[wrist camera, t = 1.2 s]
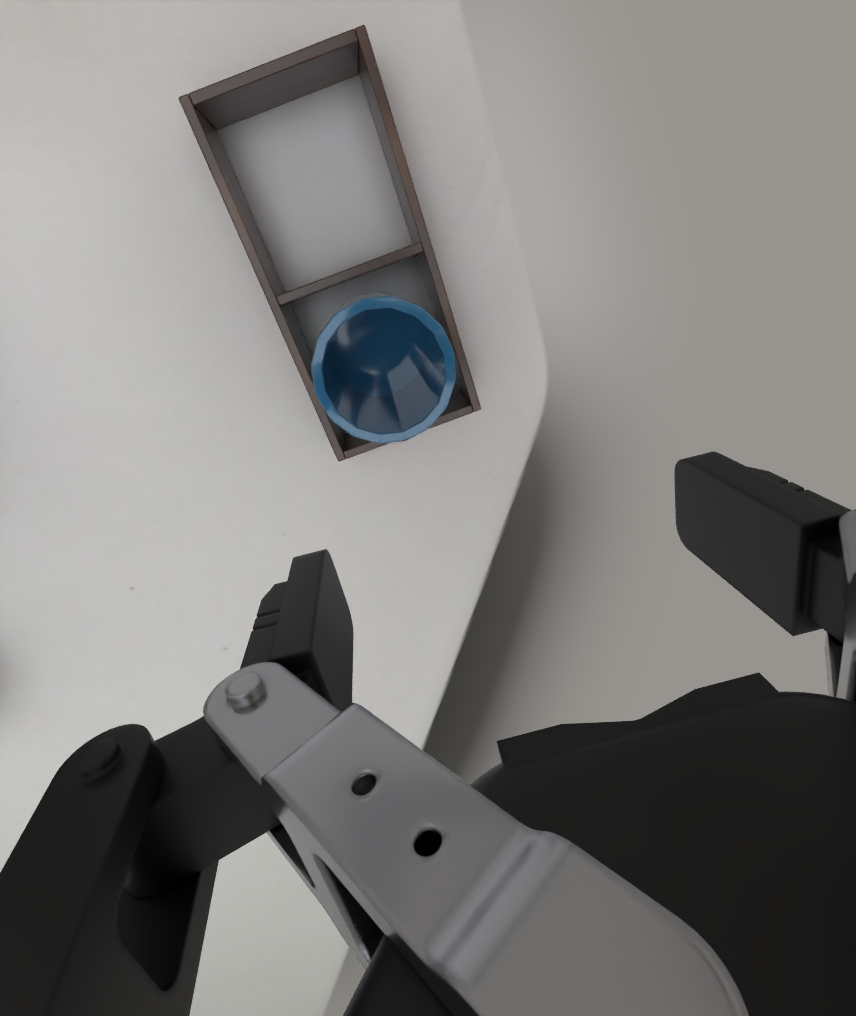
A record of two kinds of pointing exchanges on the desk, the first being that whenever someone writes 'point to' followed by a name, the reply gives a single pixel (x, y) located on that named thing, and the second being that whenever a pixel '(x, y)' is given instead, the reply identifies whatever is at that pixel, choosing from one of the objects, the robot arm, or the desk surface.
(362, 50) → the divided wooden frame
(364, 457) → the desk surface
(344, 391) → the blue cup
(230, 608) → the desk surface
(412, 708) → the desk surface
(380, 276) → the desk surface
